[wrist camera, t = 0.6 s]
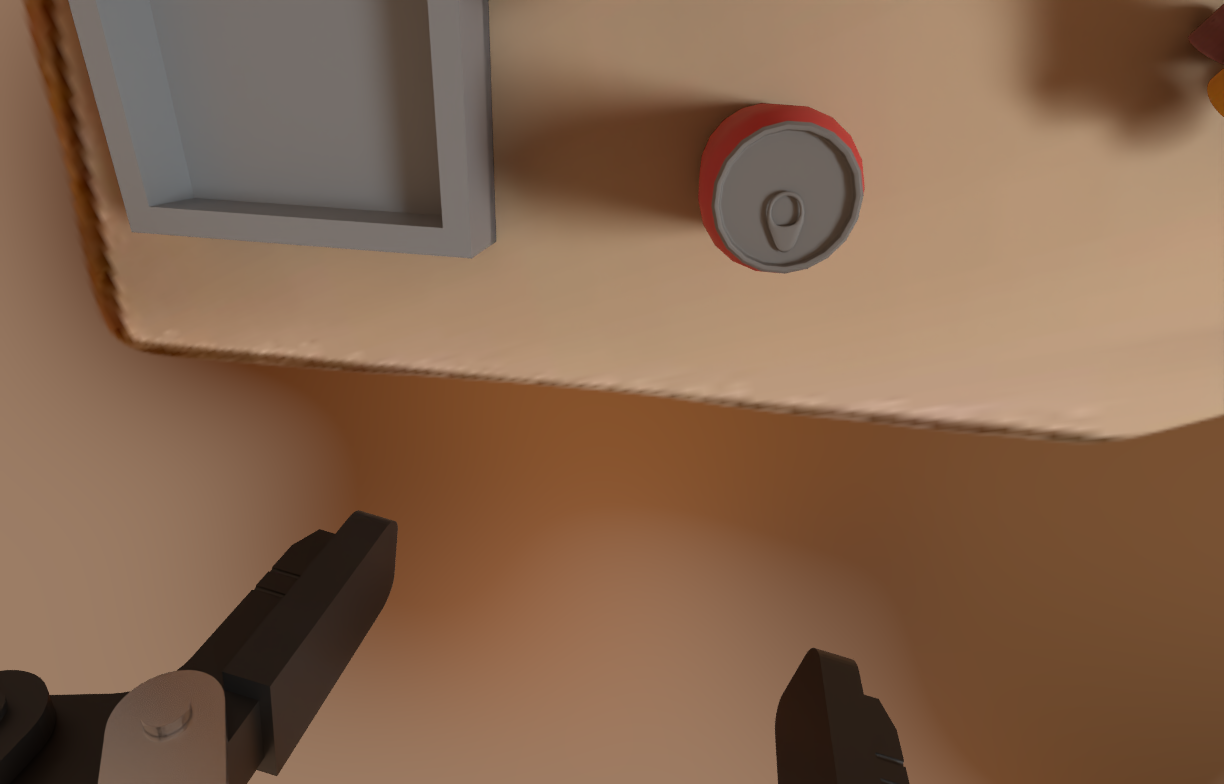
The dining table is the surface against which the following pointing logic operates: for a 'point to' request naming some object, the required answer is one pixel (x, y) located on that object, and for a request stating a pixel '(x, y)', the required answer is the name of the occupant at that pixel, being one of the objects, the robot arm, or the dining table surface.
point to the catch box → (299, 119)
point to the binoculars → (1212, 53)
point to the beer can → (780, 187)
